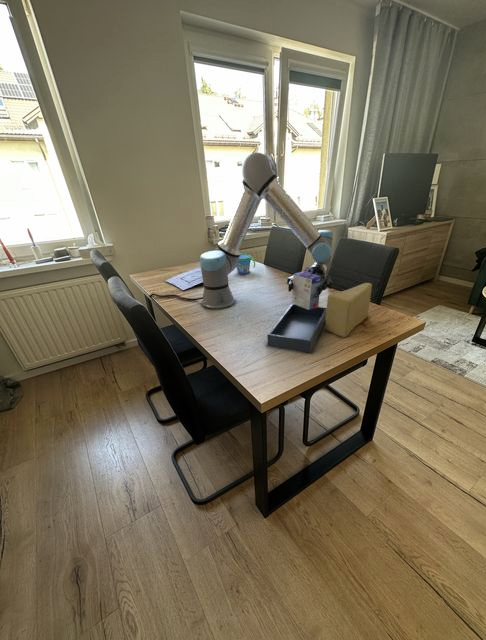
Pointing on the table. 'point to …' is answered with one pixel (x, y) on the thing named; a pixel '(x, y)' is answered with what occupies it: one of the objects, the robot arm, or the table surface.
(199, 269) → the papers
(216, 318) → the table surface
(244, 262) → the snack cup
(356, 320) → the cheese
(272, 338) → the bin
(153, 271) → the table surface
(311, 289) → the ink cartridge box
